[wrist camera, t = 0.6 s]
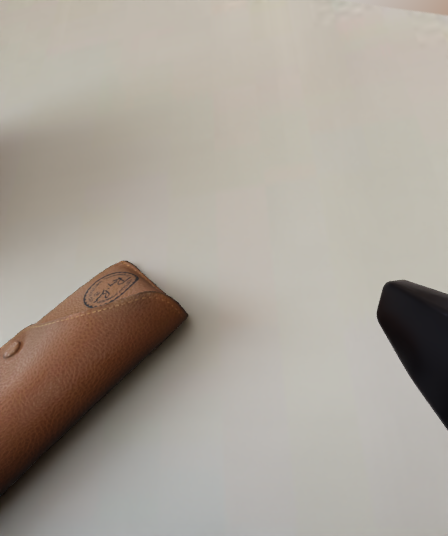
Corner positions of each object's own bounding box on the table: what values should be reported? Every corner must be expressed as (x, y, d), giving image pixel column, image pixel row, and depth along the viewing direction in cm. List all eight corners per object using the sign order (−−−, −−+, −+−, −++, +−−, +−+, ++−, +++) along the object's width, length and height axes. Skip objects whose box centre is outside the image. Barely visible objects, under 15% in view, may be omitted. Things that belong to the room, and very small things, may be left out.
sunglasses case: (121, 251, 30) (106, 223, 24) (188, 320, 30) (192, 311, 23) (-94, 440, 26) (-182, 469, 20) (-20, 522, 26) (-85, 581, 19)
